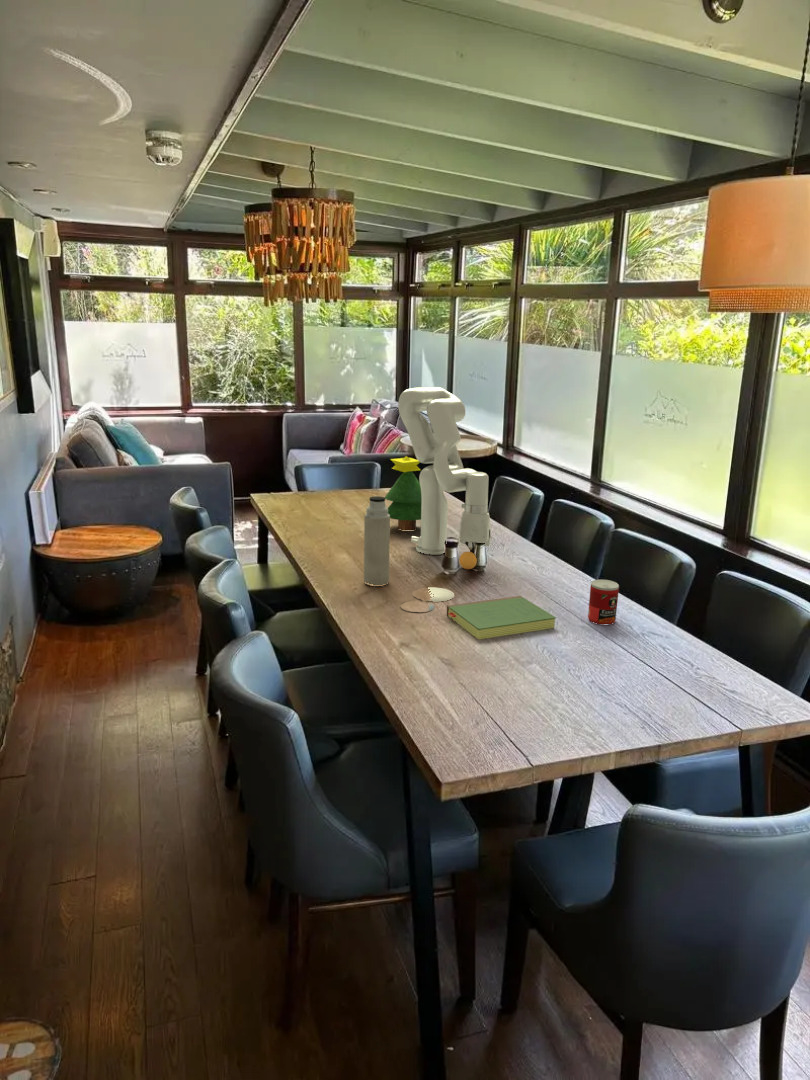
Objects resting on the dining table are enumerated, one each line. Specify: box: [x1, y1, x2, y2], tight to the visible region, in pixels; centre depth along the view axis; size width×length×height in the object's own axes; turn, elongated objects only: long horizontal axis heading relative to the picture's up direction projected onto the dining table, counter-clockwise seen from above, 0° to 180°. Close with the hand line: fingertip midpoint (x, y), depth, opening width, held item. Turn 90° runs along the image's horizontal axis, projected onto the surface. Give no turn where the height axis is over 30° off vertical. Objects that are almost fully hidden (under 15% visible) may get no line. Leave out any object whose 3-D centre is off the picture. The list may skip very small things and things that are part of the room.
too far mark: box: [426, 602, 435, 612], centre depth 228 cm, size 10×10×1 cm
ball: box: [458, 551, 478, 570], centre depth 264 cm, size 6×6×6 cm
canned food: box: [587, 579, 620, 625], centre depth 219 cm, size 8×8×11 cm
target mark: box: [428, 586, 455, 603], centre depth 238 cm, size 13×13×1 cm
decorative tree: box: [384, 455, 422, 531], centre depth 309 cm, size 19×19×30 cm
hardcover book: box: [446, 595, 557, 640], centre depth 217 cm, size 25×19×4 cm
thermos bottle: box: [363, 495, 391, 585], centre depth 244 cm, size 8×8×28 cm
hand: (474, 560), depth 268 cm, fingers closed
